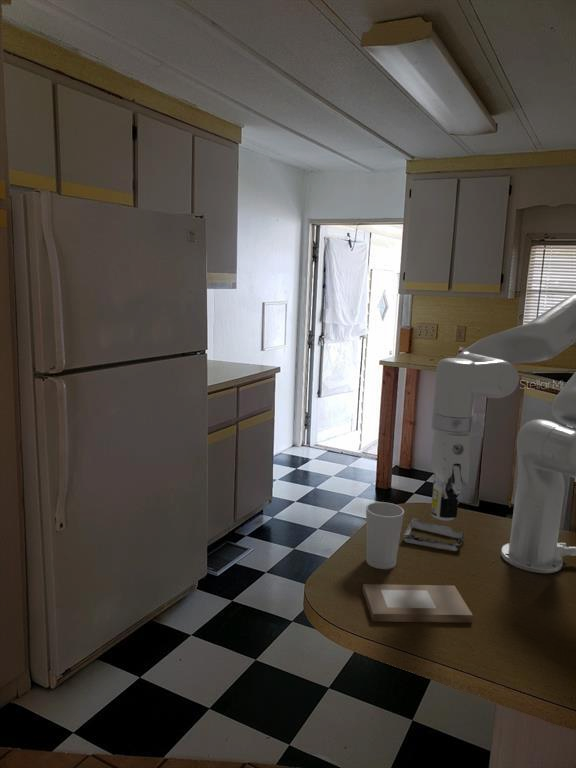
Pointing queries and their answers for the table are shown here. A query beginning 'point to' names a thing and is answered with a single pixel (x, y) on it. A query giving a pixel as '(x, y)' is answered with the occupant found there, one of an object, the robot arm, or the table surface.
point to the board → (416, 603)
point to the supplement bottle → (438, 499)
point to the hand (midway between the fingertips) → (443, 510)
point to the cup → (383, 533)
